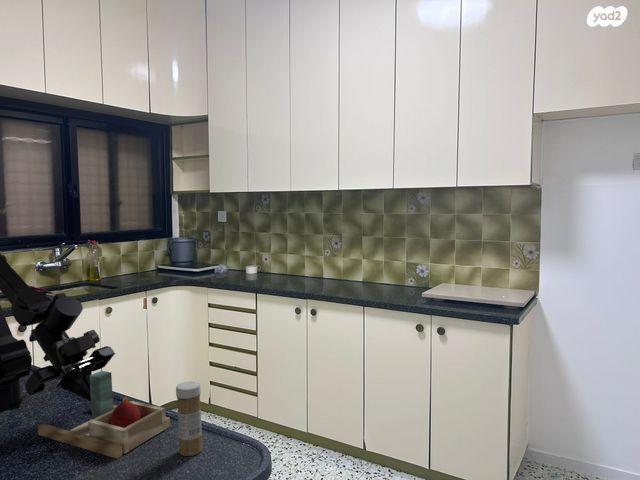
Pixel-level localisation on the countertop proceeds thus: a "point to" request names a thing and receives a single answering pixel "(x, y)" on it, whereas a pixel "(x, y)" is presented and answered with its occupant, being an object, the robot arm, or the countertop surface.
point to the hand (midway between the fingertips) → (92, 399)
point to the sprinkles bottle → (189, 418)
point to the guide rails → (84, 439)
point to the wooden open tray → (102, 411)
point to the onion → (125, 414)
